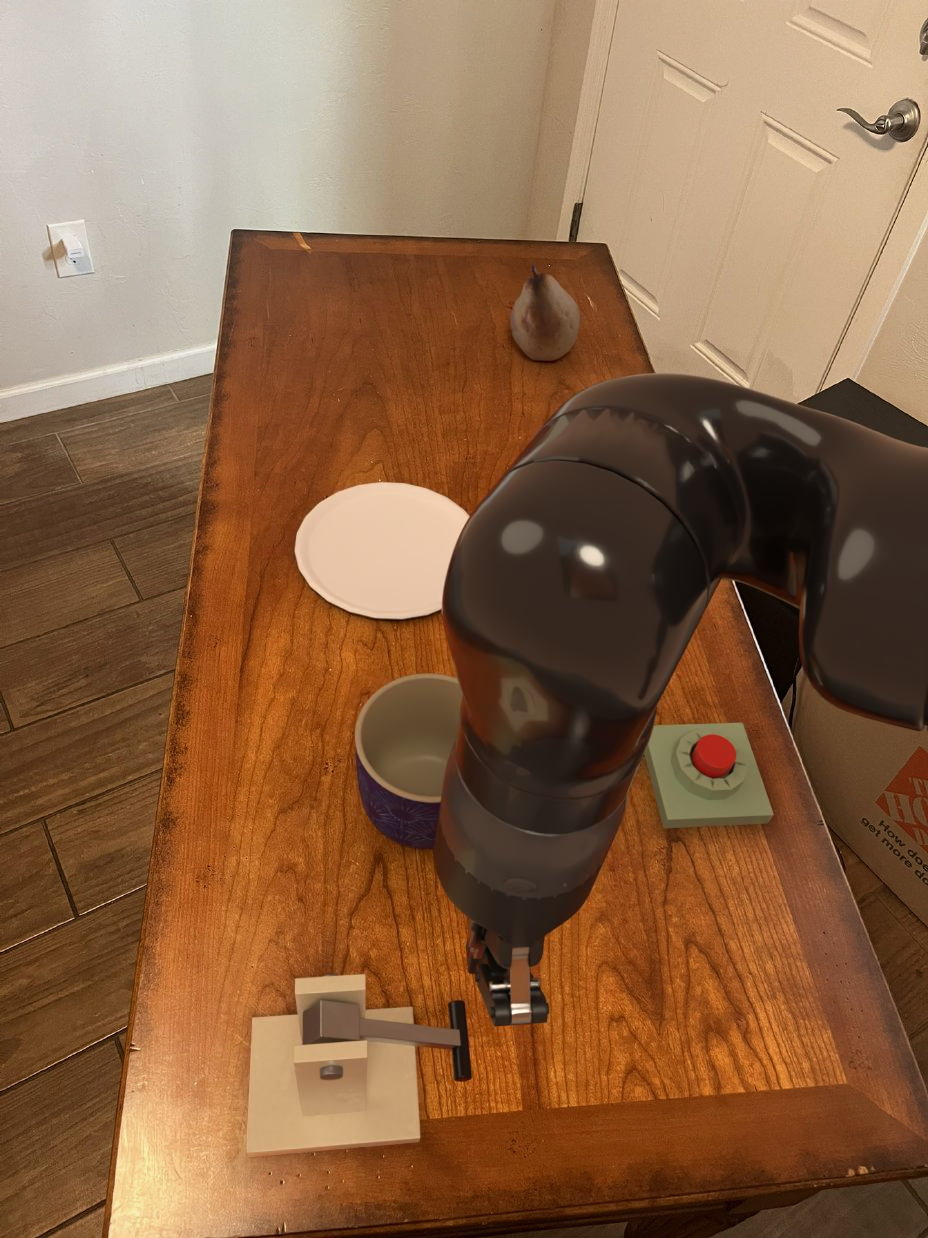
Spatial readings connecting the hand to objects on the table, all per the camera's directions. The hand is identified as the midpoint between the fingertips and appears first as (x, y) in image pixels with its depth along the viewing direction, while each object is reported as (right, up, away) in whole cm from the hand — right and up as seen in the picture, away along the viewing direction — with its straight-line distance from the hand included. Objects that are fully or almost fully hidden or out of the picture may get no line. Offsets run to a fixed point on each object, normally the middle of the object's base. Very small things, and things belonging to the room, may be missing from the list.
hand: (485, 960), depth 53 cm
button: (+22, +6, +33) cm, 40 cm away
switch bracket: (-11, -15, +16) cm, 24 cm away
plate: (-9, +27, +51) cm, 58 cm away
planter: (-5, +3, +31) cm, 32 cm away
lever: (-7, -8, +9) cm, 14 cm away
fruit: (+10, +57, +79) cm, 97 cm away
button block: (+21, +4, +36) cm, 42 cm away
